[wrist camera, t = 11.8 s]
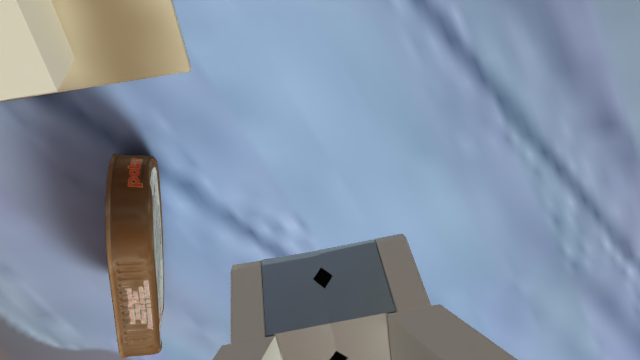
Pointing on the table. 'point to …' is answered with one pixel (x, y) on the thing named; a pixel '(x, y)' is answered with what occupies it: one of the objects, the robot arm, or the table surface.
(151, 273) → the tin
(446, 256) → the table surface
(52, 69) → the tile
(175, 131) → the table surface
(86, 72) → the board
